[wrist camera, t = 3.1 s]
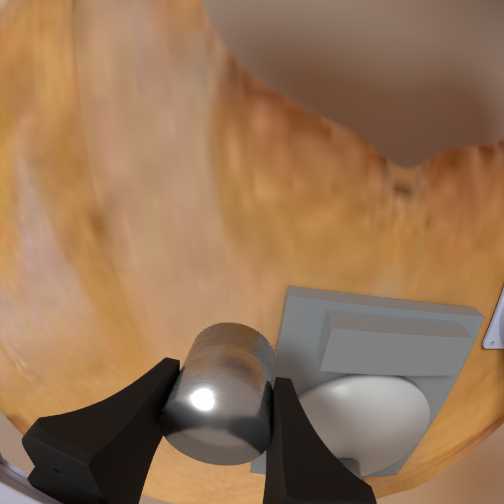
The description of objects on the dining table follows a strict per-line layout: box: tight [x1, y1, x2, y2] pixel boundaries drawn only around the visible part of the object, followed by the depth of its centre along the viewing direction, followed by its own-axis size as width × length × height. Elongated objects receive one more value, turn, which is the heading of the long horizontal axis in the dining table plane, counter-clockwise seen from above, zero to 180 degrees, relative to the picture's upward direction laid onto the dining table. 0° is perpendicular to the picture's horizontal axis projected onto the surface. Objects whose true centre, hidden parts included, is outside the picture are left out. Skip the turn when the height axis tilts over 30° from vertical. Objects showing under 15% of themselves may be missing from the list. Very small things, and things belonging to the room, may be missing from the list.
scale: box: [250, 286, 484, 477], centre depth 21 cm, size 15×19×4 cm
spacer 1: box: [159, 323, 274, 465], centre depth 12 cm, size 4×4×5 cm
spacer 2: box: [337, 458, 362, 480], centre depth 20 cm, size 4×4×5 cm
